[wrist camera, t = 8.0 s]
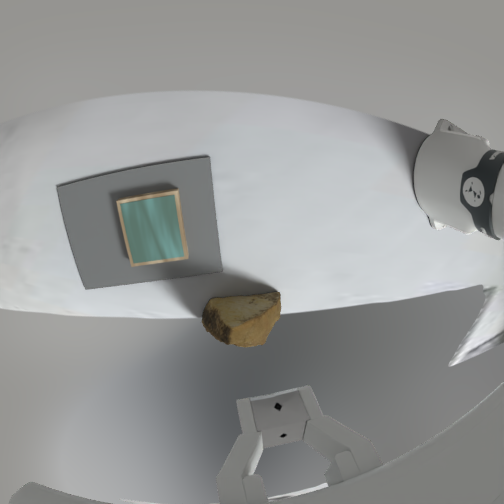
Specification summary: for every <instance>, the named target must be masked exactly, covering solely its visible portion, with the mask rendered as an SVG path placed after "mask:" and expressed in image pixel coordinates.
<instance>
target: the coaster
mask: <svg viewBox="0 0 504 504" xmlns="http://www.w3.org/2000/svg"><path fill="white" fill-rule="evenodd" d="M116 202H117V207H118V212H119V217H120V222H121V226H122V231H123V235H124V239H125V244H126V248H127V252H128V256H129V259H130V263H131V267H134V266H141V265H148V264H156V263H163V262H170V261H177V260H184V259H188V256H189V253H188V247H187V242H186V235H185V229H184V223H183V216H182V210H181V203H180V195H179V188H177V189H170V190H164V191H158V192H152V193H146V194H140V195H135V196H129V197H124V198H119V199H118V200H117V201H116Z"/></svg>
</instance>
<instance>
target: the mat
mask: <svg viewBox="0 0 504 504" xmlns="http://www.w3.org/2000/svg"><path fill="white" fill-rule="evenodd" d="M177 188H179V195H180V203H181V210H182V216H183V223H184V229H185V235H186V242H187V247H188V253H189V256H188V259H184V260H177V261H170V262H163V263H156V264H148V265H141V266H134V267H131V263H130V259H129V256H128V252H127V248H126V244H125V239H124V235H123V231H122V226H121V222H120V217H119V212H118V207H117V202H116V201H117V200H118V199H119V198H124V197H129V196H135V195H140V194H146V193H152V192H158V191H164V190H170V189H177ZM57 190H58V195H59V200H60V204H61V209H62V213H63V217H64V222H65V225H66V229H67V233H68V237H69V240H70V244H71V247H72V251H73V254H74V257H75V260H76V263H77V266H78V269H79V272H80V275H81V278H82V281H83V284H84V286H85V289H86V290H87V289H95V288H103V287H111V286H119V285H127V284H135V283H143V282H150V281H158V280H165V279H173V278H180V277H187V276H195V275H202V274H209V273H216V272H223V270H222V262H221V254H220V246H219V238H218V229H217V220H216V211H215V202H214V193H213V183H212V173H211V163H210V157H205V158H197V159H189V160H182V161H175V162H169V163H163V164H157V165H151V166H146V167H140V168H135V169H130V170H125V171H120V172H116V173H111V174H107V175H102V176H98V177H94V178H90V179H86V180H82V181H78V182H74V183H71V184H67V185H63V186H60V187H57Z"/></svg>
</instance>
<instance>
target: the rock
mask: <svg viewBox="0 0 504 504" xmlns="http://www.w3.org/2000/svg"><path fill="white" fill-rule="evenodd" d="M280 312H281V302H280V292H272V293H266V294H258V295H251V296H230V297H224V298H213V299H210V300H209V302H208V304H207V305H206V307H205V309H204V311H203V315H202V323H203V326H204V327H205V328H206V331H207V332H210V333H211V335H213V336H214V337H215V338H216V339H217V340H219V341H220V342H224V343H225V344H227V345H229V344H234V345H236V346H241V347H251V346H257V345H260V344H261V345H263V344H264V343H265V342H266V339H267V336H268V334H269V333H270V331H271V329H272V327H273V326H274V324H275V322H276V321H278V320H279V318H280Z"/></svg>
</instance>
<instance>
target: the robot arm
mask: <svg viewBox="0 0 504 504" xmlns="http://www.w3.org/2000/svg"><path fill="white" fill-rule="evenodd" d="M414 188H415V193H416V197H417V200H418V203H419V205H420V206H421V208H422V209H423V211H424V212H425V213H426V214H427V215H428V216H429V219H430V223H431V226H432V228H433V229H436V230H440V229H442V228H445V227H447V226H448V227H450V228H453V229H455V230H457V231H460V232H462V233H464V234H467V235H470V234H471V233H474V232H476V231H477V230H478V231H480V232H482V233H484V234H485V235H486V236H488V237H490V238H494V239H496V240H500V239H502V240H504V152H502V151H496V150H491V148H490V147H489V140H487V139H485V138H482V137H480V136H474V135H469V134H467V133H466V132H464V131H463V130H461V129H460V128H458V127H457V126H455V125H454V124H452V123H451V122H449V121H447V120H444V119H440V120H439V122H438V124H437V126H436V128H435V131H434V132H433V133H432V134H431V135H430V136H429V137H427V139H426V140H425V141H424V142H423V144H422V146H421V147H420V150H419V152H418V155H417V158H416V162H415V169H414ZM236 401H237V407H238V413H239V418H240V423H241V428H242V433H243V434H241V435H239V436H238V438H237V440H236V442H235V444H234V446H233V448H232V450H231V452H230V454H229V455H228V457H227V459H226V461H225V463H224V465H223V467H222V469H221V470H220V472H219V474H218V476H217V478H216V483H217V489H218V496H219V502H220V504H504V382H502V383H501V384H500V385H499V386H498V387H497V388H496V389H495V390H494V391H493V392H492V393H491V394H489V395H488V396H487V397H486V398H485V399H484V400H483V401H481V402H480V403H479V404H478V405H477V406H475V407H474V408H473V409H472V410H471V411H469V412H468V413H467V414H465V415H464V416H463V417H461V418H460V419H459V420H457V421H456V422H455V423H453V424H452V425H451V426H449V427H448V428H446V429H445V430H443V431H442V432H440V433H439V434H437V435H436V436H434V437H433V438H431V439H429V440H428V441H426V442H425V443H423V444H421V445H419V446H418V447H416V448H414V449H413V450H411V451H409V452H407V453H405V454H404V455H402V456H400V457H398V458H396V459H394V460H392V461H390V462H388V463H386V464H384V465H383V463H382V461H381V459H380V457H379V455H378V453H377V452H376V450H375V448H374V446H373V444H372V442H371V440H369V439H367V438H365V437H364V436H362V435H360V434H358V433H357V432H355V431H353V430H351V429H350V428H348V427H346V426H344V425H343V424H341V423H339V422H338V421H336V420H334V419H333V418H331V417H329V416H328V415H326V416H324V415H323V413H322V411H321V409H320V407H319V404H318V402H317V400H316V397H315V395H314V393H313V391H312V389H311V387H310V386H309V385H307V386H304V387H300V388H294V389H290V390H287V391H282V392H278V393H273V394H269V395H264V396H258V397H252V398H245V399H239V400H236ZM300 440H303V441H304V442H305V443H306V444H308V445H309V446H310V447H311V448H313V449H314V450H315V451H317V452H318V453H319V454H321V455H322V456H323V457H325V458H326V459H327V460H329V461H330V462H331V464H330V466H329V468H328V469H327V471H326V473H325V474H324V475H325V478H326V481H327V483H328V486H329V487H326V488H323V489H320V490H316V491H313V492H309V493H306V494H302V495H298V496H294V497H290V498H286V499H281V500H277V501H272V502H268V498H267V495H266V491H265V488H264V484H263V480H262V477H261V476H259V475H257V474H255V475H253V473H254V471H255V469H256V466H257V464H258V461H259V459H260V456H261V454H262V451H263V449H264V448H269V447H273V446H277V445H281V444H286V443H291V442H295V441H300ZM9 504H111V503H105V502H100V501H96V500H91V499H87V498H82V497H79V496H75V495H71V494H67V493H64V492H61V491H58V490H55V489H52V488H49V487H46V486H43V485H40V484H38V483H34V482H29V483H27V484H25V485H24V486H23V487H22V488H20V489H19V490H18V491H17V492H16V493H15V494H13V495H12V497H11V499H10V501H9Z"/></svg>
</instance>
